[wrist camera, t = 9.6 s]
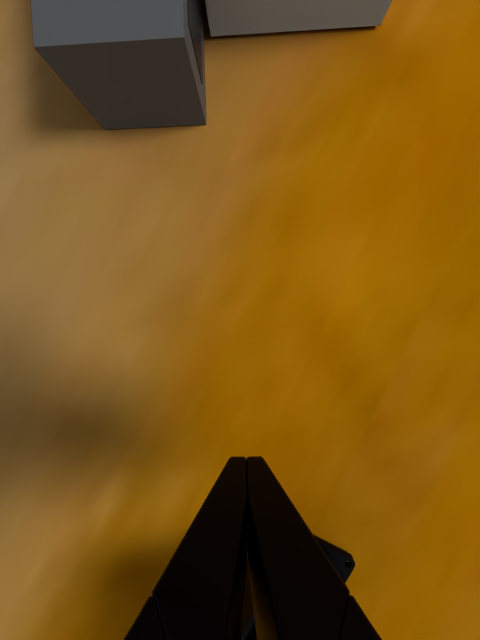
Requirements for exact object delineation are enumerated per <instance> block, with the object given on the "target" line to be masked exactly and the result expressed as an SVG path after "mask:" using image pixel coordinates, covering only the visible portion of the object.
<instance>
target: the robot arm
mask: <svg viewBox="0 0 480 640" xmlns="http://www.w3.org/2000/svg"><path fill="white" fill-rule="evenodd" d="M247 541H248V562H247ZM346 561H348V562H346ZM354 567H355V562H354V559H353V557H352V555H351V554H349V553H347V552H346V551H344V550H342V549H340V548H338V547H336V546H334V545H332V544H330V543H328V542H326V541H324V540H322V539H320V538H318V537H316V536H314V535H313V534H312V532H311V531H310V529H309V528H308V526H307V525H306V523H305V522H304V520H303V519H302V517H301V516H300V514H299V512H298V511H297V509H296V508H295V506H294V505H293V503H292V502H291V500H290V499H289V497H288V496H287V494H286V493H285V491H284V489H283V488H282V486H281V485H280V483H279V482H278V480H277V479H276V477H275V476H274V474H273V473H272V471H271V469H270V468H269V466H268V465H267V463H266V462H265V460H264V459H263V458H262V457H260V456H254V457H247V459H246V458H245V457H230V458H229V460H228V462H227V463H226V465H225V467H224V468H223V470H222V472H221V474H220V475H219V477H218V479H217V481H216V482H215V484H214V486H213V487H212V489H211V491H210V493H209V494H208V496H207V498H206V500H205V501H204V503H203V505H202V506H201V508H200V510H199V512H198V513H197V515H196V517H195V519H194V520H193V522H192V524H191V525H190V527H189V529H188V531H187V532H186V534H185V536H184V538H183V539H182V541H181V543H180V544H179V546H178V548H177V550H176V551H175V553H174V555H173V557H172V558H171V560H170V562H169V563H168V565H167V567H166V569H165V570H164V572H163V574H162V576H161V577H160V579H159V581H158V582H157V584H156V586H155V588H154V589H153V591H152V596H150V597H149V598H148V599H147V601H146V603H145V605H144V606H143V608H142V610H141V611H140V613H139V615H138V617H137V618H136V620H135V622H134V623H133V625H132V627H131V628H130V630H129V632H128V633H127V635H126V637H125V638H124V640H382V639H381V638H380V636H379V635H378V633H377V632H376V630H375V629H374V627H373V626H372V624H371V623H370V621H369V620H368V618H367V617H366V615H365V614H364V612H363V611H362V609H361V607H360V606H359V604H358V603H357V601H356V600H355V598H354V597H353V596H352V595H350V592H349V589H348V588H347V586H346V584H345V582H346V581H347V579H348V577H349V576H350V574H351V572H352V571H353V569H354ZM349 595H350V596H349Z"/></svg>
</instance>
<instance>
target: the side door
mask: <svg viewBox="0 0 480 640" xmlns="http://www.w3.org/2000/svg"><path fill="white" fill-rule="evenodd" d="M391 2H392V0H205V5H206V11H207V18H208V24H209V28H210V34H211V36H227V35H242V34H257V33H273V32H288V31H303V30H318V29H334V28H349V27H364V26H380V25H381V23H382V21H383V19H384V17H385V14H386V12H387V10H388V8H389V6H390V4H391Z"/></svg>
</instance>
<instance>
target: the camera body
mask: <svg viewBox="0 0 480 640" xmlns="http://www.w3.org/2000/svg"><path fill="white" fill-rule="evenodd" d="M31 11H32V26H33V40H34V48H35V49H36V50H37V51H38V52H39V53H40V55H41V56H42V57H43V58H44V59H45V60H46V62H47V63H48V64H49V65H50V66H51V67H52V69H53V70H54V71H55V72H56V73H57V75H58V76H59V77H60V78H61V79H62V80H63V82H64V83H65V84H66V85H67V86H68V87H69V89H70V90H71V91H72V92H73V93H74V94H75V96H76V97H77V98H78V99H79V100H80V101H81V103H82V104H83V105H84V106H85V107H86V108H87V110H88V111H89V112H90V113H91V114H92V115H93V117H94V118H95V119H96V120H97V121H98V122H99V124H100V125H101V126H102V127H103V128H104V129H105V130H111V129H130V128H150V127H169V126H189V125H206V96H205V62H204V28H203V0H31Z"/></svg>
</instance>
